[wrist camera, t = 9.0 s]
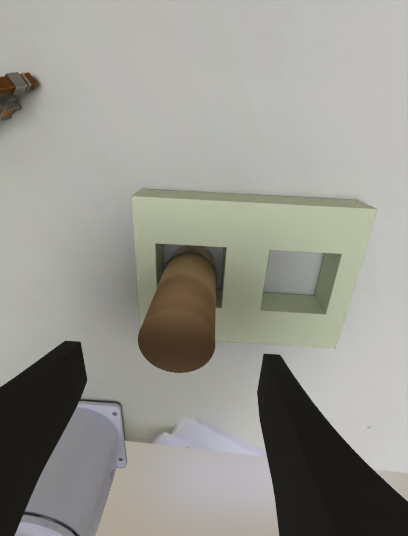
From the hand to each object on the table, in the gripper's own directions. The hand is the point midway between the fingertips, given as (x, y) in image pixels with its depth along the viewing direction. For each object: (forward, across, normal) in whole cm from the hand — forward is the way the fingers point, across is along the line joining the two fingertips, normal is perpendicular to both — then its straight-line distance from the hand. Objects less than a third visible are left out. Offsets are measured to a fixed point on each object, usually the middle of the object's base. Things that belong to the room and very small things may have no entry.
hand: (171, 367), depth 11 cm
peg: (+10, 0, 0) cm, 10 cm away
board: (+10, -4, 0) cm, 11 cm away
